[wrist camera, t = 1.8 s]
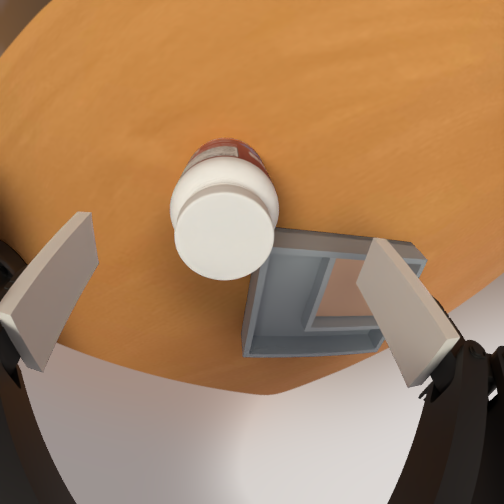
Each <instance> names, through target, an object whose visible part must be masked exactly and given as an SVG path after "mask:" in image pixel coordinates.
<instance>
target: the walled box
mask: <svg viewBox="0 0 504 504" xmlns="http://www.w3.org/2000/svg"><path fill="white" fill-rule="evenodd" d="M372 240H373V238H371V237H362V236H354V235H345V234H335V233H326V232H316V231H307V230H296V229H286V228H275V229H274V243H273V247H272V250H271V253H270V255H269V256H268V258H267V259H266V261H265V262H264V263H263V264H262V265H261V266H260V267H259V268H258V269H257V270H255V271H254V272H252V273H251V279H250V285H249V291H248V296H247V302H246V308H245V314H244V320H243V326H242V332H241V338H242V351H243V357H313V356H332V355H347V354H359V353H370V352H377V351H378V349H379V348H380V346H381V344H382V343H383V341H384V340H385V338H384V336H383V334H382V332H381V330H380V328H379V326H378V324H377V322H376V320H375V318H374V316H373V314H372V312H371V310H370V308H369V306H368V305H367V303H366V301H365V299H364V297H363V295H362V293H361V292H360V290H359V288H358V286H357V284H356V281H357V279H358V276H359V274H360V272H361V269H362V266H363V264H364V261H365V259H366V256H367V254H368V251H369V248H370V245H371V243H372ZM386 240H387V241H388V242H389V243H390V244H391V245H392V247H393V248H394V249H395V250H396V251H397V253H398V254H399V255H400V256H401V257H402V259H403V260H404V261H405V262H406V263H407V265H408V266H409V267H410V268H411V270H412V271H413V272H414V273H415V275H416V276H417V277H418V279H419V277H420V275H421V273H422V271H423V269H424V267H425V264H426V262H427V259H426V258H425V257H424V256H423V254H422V253H421V252H420V251H419V250H418V249H417V248H416V247H415V246H414V245H413V244H412V243H411V242H404V241H396V240H388V239H386Z"/></svg>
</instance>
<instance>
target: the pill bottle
mask: <svg viewBox="0 0 504 504" xmlns="http://www.w3.org/2000/svg"><path fill="white" fill-rule="evenodd" d="M170 216H171V221H172V225H173V227H174V230H175V232H174V237H175V245H176V249H177V251H178V253H179V255H180V257H181V259H182V260H183V261H184V263H185V264H186V265H187V266H188V267H189V268H190V269H192V270H193V271H195V272H196V273H198V274H200V275H202V276H204V277H207V278H211V279H215V280H233V279H238V278H241V277H244V276H247V275H249V274H251V273H252V272H254V271H255V270H257V269H258V268H259V267H260V266H261V265H262V264H263V263H264V262H265V261H266V259H267V258H268V256H269V255H270V253H271V250H272V247H273V243H274V229H275V227H276V224H277V221H278V216H279V202H278V197H277V194H276V190H275V188H274V186H273V184H272V181H271V179H270V177H269V175H268V173H267V171H266V169H265V167H264V165H263V163H262V161H261V159H260V157H259V156H258V154H257V153H256V152H255V151H254V150H253V149H252V148H251V147H250V146H249V145H247V144H246V143H244V142H242V141H240V140H237V139H232V138H219V139H215V140H212V141H209V142H207V143H205V144H204V145H202V146H201V147H200V148H199V149H198V150H197V151H196V152H195V153H194V154H193V156H192V157H191V159H190V160H189V162H188V164H187V166H186V167H185V169H184V171H183V173H182V175H181V177H180V179H179V181H178V183H177V184H176V186H175V189H174V191H173V194H172V197H171V202H170Z"/></svg>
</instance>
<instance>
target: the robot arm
mask: <svg viewBox="0 0 504 504" xmlns="http://www.w3.org/2000/svg"><path fill="white" fill-rule="evenodd" d="M98 264H99V261H98V256H97V250H96V243H95V237H94V230H93V222H92V214H91V212H77V213H76V214H75V215H74V216H73V217H72V218H71V219H70V220H69V221H68V222H67V223H66V224H65V225H64V226H63V227H62V228H61V229H60V230H59V231H58V232H57V233H56V234H55V235H54V236H53V237H52V239H51V240H50V241H49V242H48V243H47V244H46V245H45V246H44V247H43V249H42V250H41V251H40V252H39V253H38V254H37V255H36V257H35V258H34V259H33V260H32V261H31V263H30V264H29V265H26V264H25V262H24V261H23V260H22V259H21V258H20V257H19V255H18V254H17V253H16V252H15V251H14V250H13V249H11V248H10V247H9V246H8V245H7V244H5V243H4V242H2V241H1V240H0V504H76V502H75V501H74V499H73V497H72V496H71V494H70V492H69V491H68V489H67V487H66V485H65V483H64V482H63V480H62V478H61V476H60V474H59V472H58V470H57V468H56V466H55V464H54V462H53V460H52V458H51V456H50V453H49V451H48V449H47V447H46V444H45V442H44V440H43V438H42V435H41V432H40V430H39V427H38V425H37V422H36V419H35V416H34V414H33V410H32V407H31V404H30V401H29V398H28V395H27V392H26V388H25V384H24V381H23V377H22V374H21V370H20V368H19V366H18V364H17V363H18V361H19V359H20V357H21V358H22V360H23V362H24V363H25V364H26V366H27V367H28V368H31V369H34V370H37V371H40V372H43V371H44V369H45V366H46V364H47V362H48V360H49V357H50V355H51V353H52V351H53V348H54V346H55V344H56V342H57V340H58V338H59V336H60V334H61V332H62V329H63V327H64V325H65V323H66V321H67V320H68V318H69V316H70V314H71V312H72V310H73V308H74V306H75V304H76V302H77V301H78V299H79V297H80V295H81V293H82V292H83V290H84V288H85V286H86V284H87V283H88V281H89V279H90V278H91V276H92V274H93V272H94V271H95V269H96V267H97V266H98ZM356 284H357V286H358V288H359V290H360V292H361V293H362V295H363V297H364V299H365V301H366V303H367V305H368V306H369V308H370V310H371V312H372V314H373V316H374V318H375V320H376V322H377V324H378V326H379V328H380V330H381V332H382V334H383V336H384V338H385V340H386V342H387V344H388V346H389V348H390V350H391V352H392V354H393V356H394V358H395V361H396V363H397V365H398V367H399V369H400V371H401V374H402V376H403V378H404V380H405V382H406V385H407V387H408V388H409V387H413V386H418V385H422V384H423V382H424V381H425V380H426V379H427V378H428V377H429V376H431V378H432V380H433V381H432V382H431V383H430V384H429V385H428V387H427V388H426V389H425V390H424V391H423V392H422V393H421V394H420V396H419V399H421V397H423V396H424V394H427V395H426V398H425V399H424V401H425V403H424V407H423V411H422V414H421V418H420V421H419V424H418V428H417V431H416V434H415V437H414V440H413V443H412V446H411V449H410V452H409V455H408V458H407V460H406V462H405V465H404V468H403V470H402V473H401V475H400V477H399V480H398V482H397V484H396V487H395V489H394V491H393V493H392V495H391V498H390V500H389V502H388V504H504V346H499V347H498V348H497V349H496V351H495V352H494V353H493V354H488V353H486V352H485V350H484V348H483V347H482V346H481V345H480V344H479V343H477V342H476V341H473V340H467V341H465V339H464V338H463V336H462V335H461V333H460V331H459V330H458V329H457V327H456V326H455V324H454V323H453V321H452V320H451V318H449V316H448V314H447V313H446V311H444V308H443V307H442V306H441V304H440V303H439V302H438V301H437V300H436V299H435V298H434V297H433V296H432V295H431V294H430V293H429V292H428V290H427V289H426V288H425V286H424V285H423V284H422V282H421V281H420V280H419V279H418V277H417V276H416V275H415V273H414V272H413V271H412V270H411V268H410V267H409V266H408V265H407V263H406V262H405V261H404V260H403V259H402V257H401V256H400V255H399V254H398V253H397V251H396V250H395V249H394V248H393V247H392V245H391V244H390V243H389V242H388V241H387V240H386V239H382V238H374V237H373V240H372V243H371V245H370V248H369V251H368V254H367V256H366V259H365V261H364V264H363V266H362V269H361V272H360V274H359V276H358V279H357V281H356ZM496 388H497V392H498V394H497V395H496V396H495V397H494V398H493V399H492V400H490V401H489V399H488V396H489V395H490V394H491V393H492V392H493V391H494V390H495V389H496Z"/></svg>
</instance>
